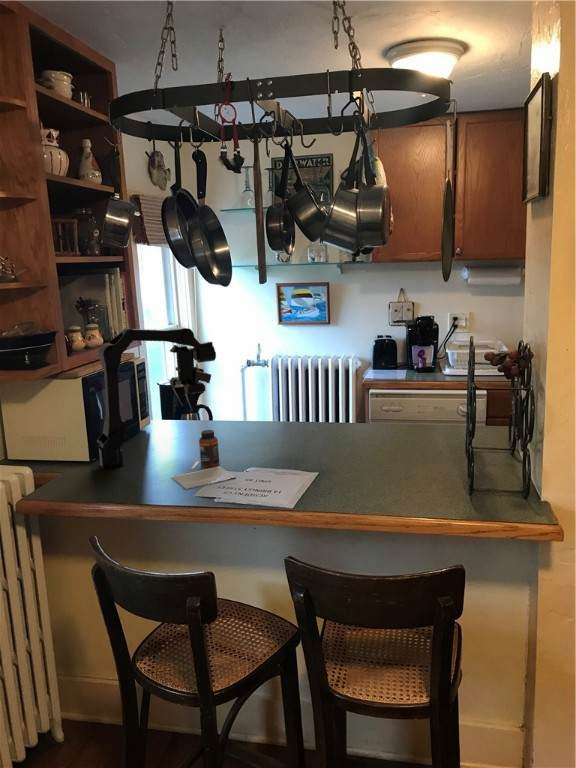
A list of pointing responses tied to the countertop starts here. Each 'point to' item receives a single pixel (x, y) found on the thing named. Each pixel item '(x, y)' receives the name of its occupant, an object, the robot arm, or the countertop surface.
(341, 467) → the countertop surface
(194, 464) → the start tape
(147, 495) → the countertop surface
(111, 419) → the robot arm
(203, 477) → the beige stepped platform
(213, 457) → the supplement bottle
